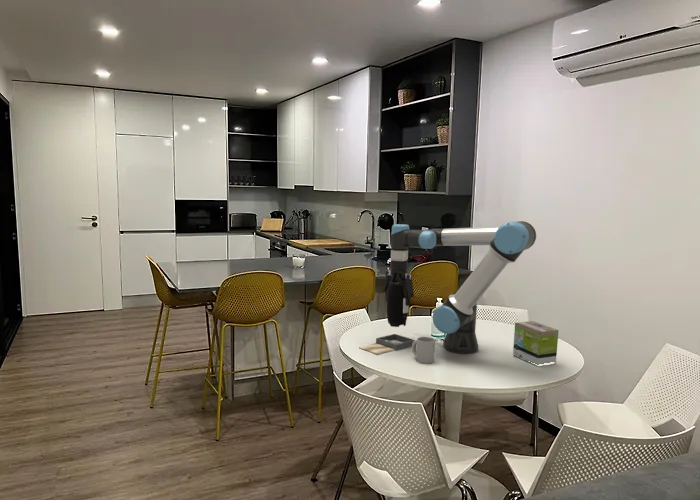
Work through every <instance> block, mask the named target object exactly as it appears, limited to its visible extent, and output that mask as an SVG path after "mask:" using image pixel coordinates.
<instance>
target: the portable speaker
mask: <svg viewBox="0 0 700 500" xmlns="http://www.w3.org/2000/svg"><path fill="white" fill-rule="evenodd" d="M403 284H406V282H405V283H399V281H397V282H392V281H390V283H389V289H388V293H387V301H386V316H387V317H386V318H387V323H388V324H389V325H390V327H393V328H399V327H400V326H403V327H405V326H406V325H407V321H408V315H409V312H408V313H403V298H404V297H405V296H404V293H403Z"/></svg>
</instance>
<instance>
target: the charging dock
mask: <svg viewBox="0 0 700 500" xmlns="http://www.w3.org/2000/svg"><path fill="white" fill-rule="evenodd" d="M414 340H415V339H414V338H410V337H406V336H403V335H401V334H400V335H399V334H397V333H392V334H388V335H384V336H379V337H377V338H375V343H377V344H380V345H383V346H386V347H389V348H391V349H394V351H399V350H403V349H408V348H412V343H413V341H414ZM392 341H398V342H400V343H394V342H392Z"/></svg>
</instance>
